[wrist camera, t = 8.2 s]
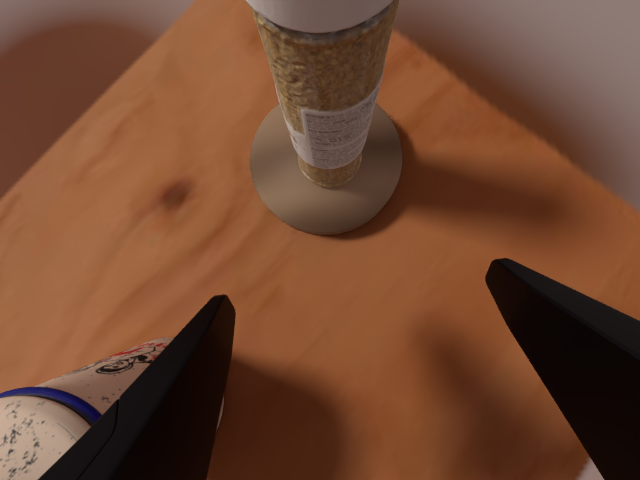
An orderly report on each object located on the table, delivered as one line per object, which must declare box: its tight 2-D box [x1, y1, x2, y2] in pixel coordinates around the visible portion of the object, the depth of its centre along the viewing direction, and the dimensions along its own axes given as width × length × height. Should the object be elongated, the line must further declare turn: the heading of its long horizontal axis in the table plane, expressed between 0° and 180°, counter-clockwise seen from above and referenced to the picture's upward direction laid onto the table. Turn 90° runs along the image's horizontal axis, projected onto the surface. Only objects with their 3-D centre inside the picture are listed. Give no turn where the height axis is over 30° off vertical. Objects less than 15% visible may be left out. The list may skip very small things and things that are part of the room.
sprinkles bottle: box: [246, 0, 399, 188], centre depth 11 cm, size 5×5×13 cm
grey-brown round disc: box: [250, 103, 402, 235], centre depth 18 cm, size 11×11×2 cm
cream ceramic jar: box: [0, 338, 224, 480], centre depth 12 cm, size 12×9×12 cm
